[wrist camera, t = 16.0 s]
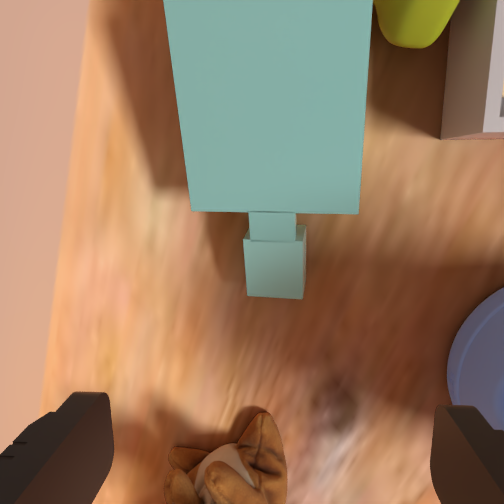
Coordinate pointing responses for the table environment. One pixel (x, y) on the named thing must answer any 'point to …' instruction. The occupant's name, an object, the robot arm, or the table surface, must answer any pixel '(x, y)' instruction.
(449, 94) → the tub
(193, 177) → the teal flat paddle shape
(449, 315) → the table surface
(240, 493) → the stuffed squirrel
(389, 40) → the dumbbell
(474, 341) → the water jug
